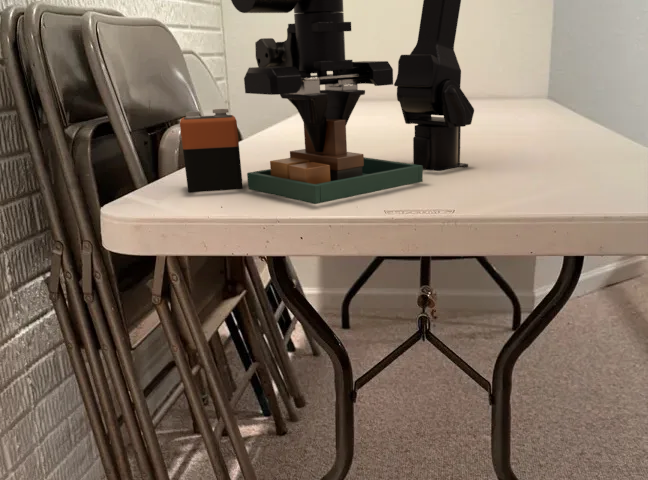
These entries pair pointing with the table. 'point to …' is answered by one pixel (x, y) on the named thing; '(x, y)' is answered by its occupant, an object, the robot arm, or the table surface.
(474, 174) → the table surface
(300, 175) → the crumb
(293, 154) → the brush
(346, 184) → the tray
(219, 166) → the battery
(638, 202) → the table surface
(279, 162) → the brown wooden cube
